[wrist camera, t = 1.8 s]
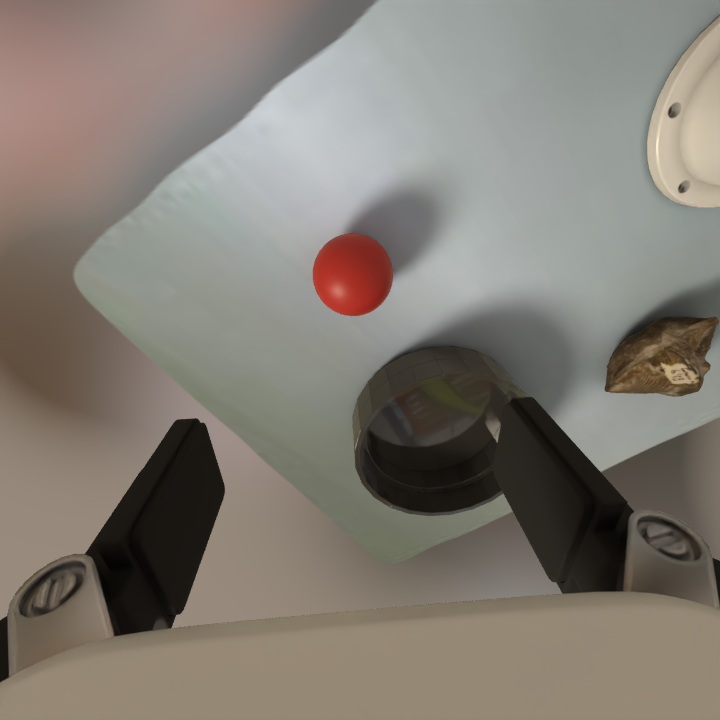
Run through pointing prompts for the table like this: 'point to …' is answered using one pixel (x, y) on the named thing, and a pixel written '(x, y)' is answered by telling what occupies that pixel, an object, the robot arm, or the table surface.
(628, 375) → the fossilized seashell
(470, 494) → the bowl
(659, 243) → the table surface
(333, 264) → the red ball
